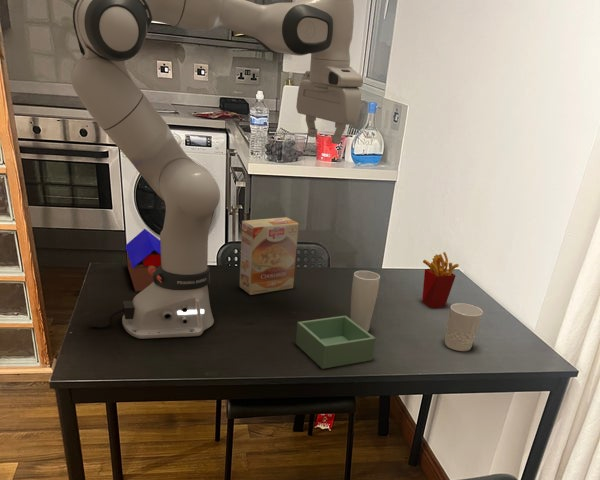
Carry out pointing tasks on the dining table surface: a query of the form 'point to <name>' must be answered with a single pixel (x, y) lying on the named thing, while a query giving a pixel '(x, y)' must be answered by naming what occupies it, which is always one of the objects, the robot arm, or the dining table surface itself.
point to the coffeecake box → (268, 254)
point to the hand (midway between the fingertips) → (323, 140)
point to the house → (143, 258)
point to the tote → (335, 341)
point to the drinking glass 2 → (364, 297)
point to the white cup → (462, 326)
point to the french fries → (437, 281)
